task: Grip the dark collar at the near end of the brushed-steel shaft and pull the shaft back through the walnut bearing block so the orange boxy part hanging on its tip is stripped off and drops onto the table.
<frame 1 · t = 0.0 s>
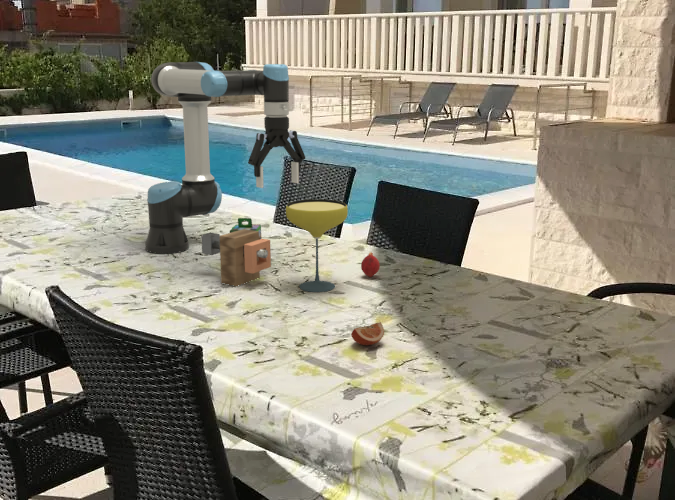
hand: (277, 185, 237), 28 cm above the table, fingers open, 13 cm apart
onion: (370, 277, 237), on the table
fruit slice: (368, 345, 183), on the table
chalk box: (246, 260, 257), on the table
cocktail glass: (317, 287, 228), on the table
bearing block: (240, 280, 233), on the table
orange boxy part: (257, 255, 227), point 9 cm above the table, touching shaft
shaft: (234, 248, 232), point 10 cm above the table, slide at 0.0 cm, touching orange boxy part
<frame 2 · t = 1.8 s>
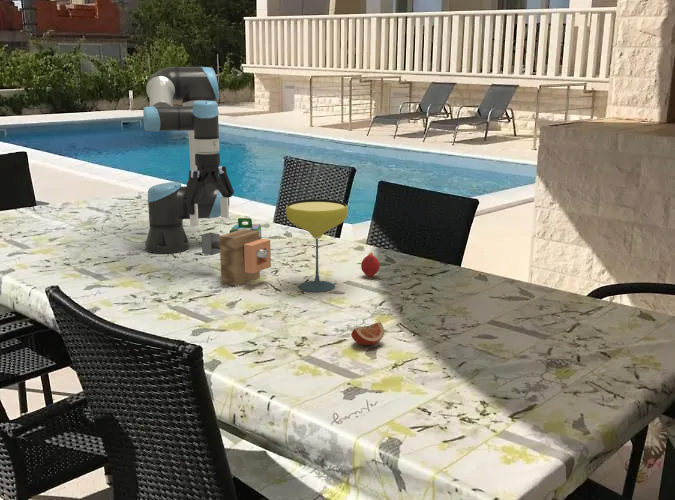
hand: (210, 221, 235), 17 cm above the table, fingers open, 13 cm apart
nothing on the table moved.
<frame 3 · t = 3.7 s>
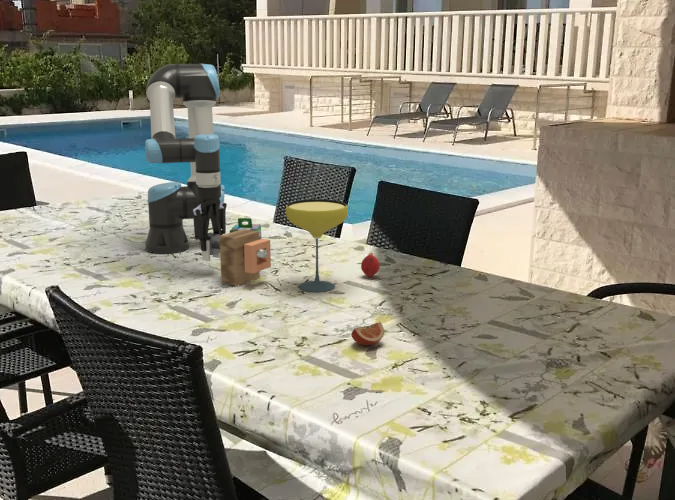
hand: (211, 258, 239), 5 cm above the table, fingers closed on shaft, 4 cm apart
shaft: (234, 248, 232), point 10 cm above the table, slide at 0.0 cm, touching gripper, orange boxy part
everything else where it was.
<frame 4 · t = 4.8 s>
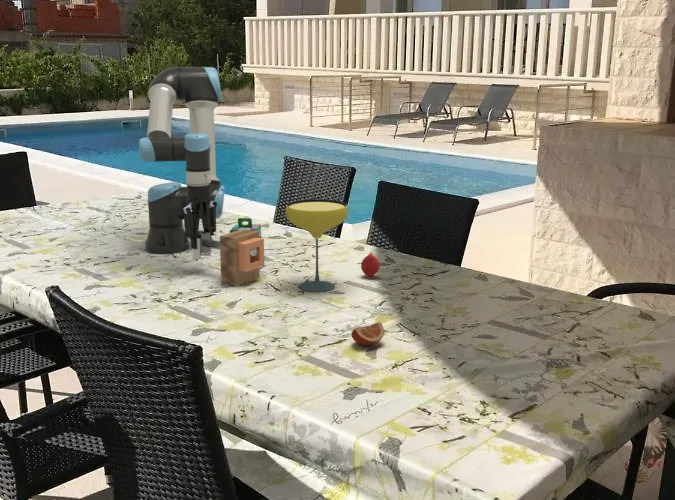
hand: (202, 256, 241), 5 cm above the table, fingers closed on shaft, 4 cm apart
orange boxy part: (251, 254, 229), point 9 cm above the table
shaft: (225, 246, 234), point 10 cm above the table, slide at 4.1 cm, touching gripper
everything else where it was.
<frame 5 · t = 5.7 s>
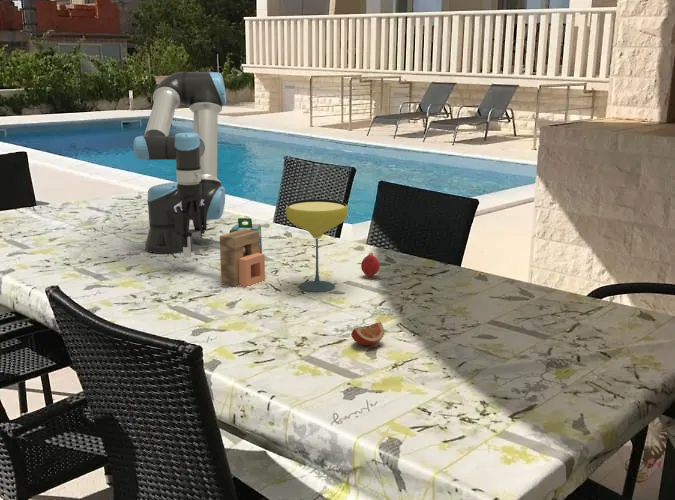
hand: (192, 254, 243), 5 cm above the table, fingers closed on shaft, 4 cm apart
orange boxy part: (251, 270, 230), point 4 cm above the table
shaft: (215, 244, 236), point 10 cm above the table, slide at 8.2 cm, touching gripper
everything else where it was.
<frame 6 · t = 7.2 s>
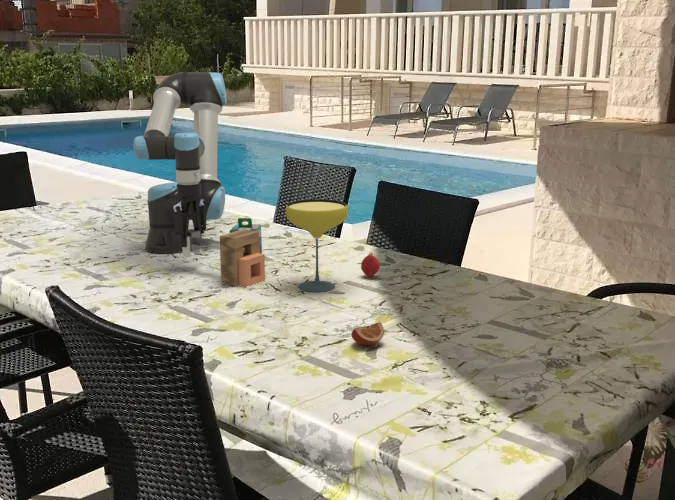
hand: (192, 254, 243), 5 cm above the table, fingers open, 4 cm apart
shaft: (214, 244, 237), point 10 cm above the table, slide at 8.4 cm
everything else where it was.
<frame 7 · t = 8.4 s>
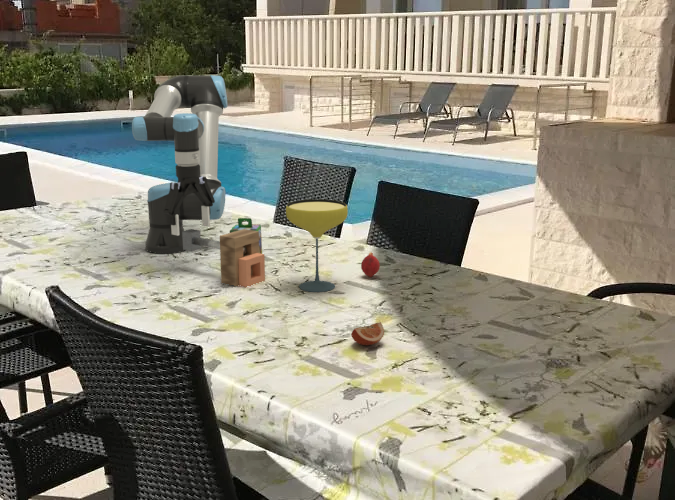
hand: (191, 230, 242), 13 cm above the table, fingers open, 13 cm apart
nothing on the table moved.
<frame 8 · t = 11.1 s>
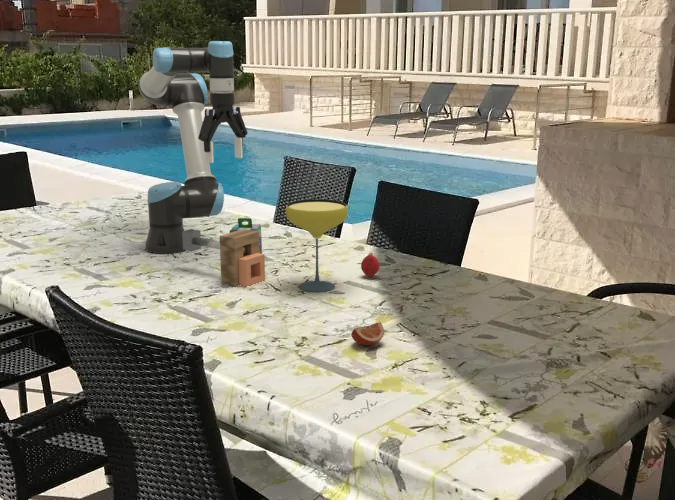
hand: (224, 160, 242), 35 cm above the table, fingers open, 13 cm apart
nothing on the table moved.
at the end: shaft slide at 8.4 cm; orange boxy part point 4.2 cm above the table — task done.
